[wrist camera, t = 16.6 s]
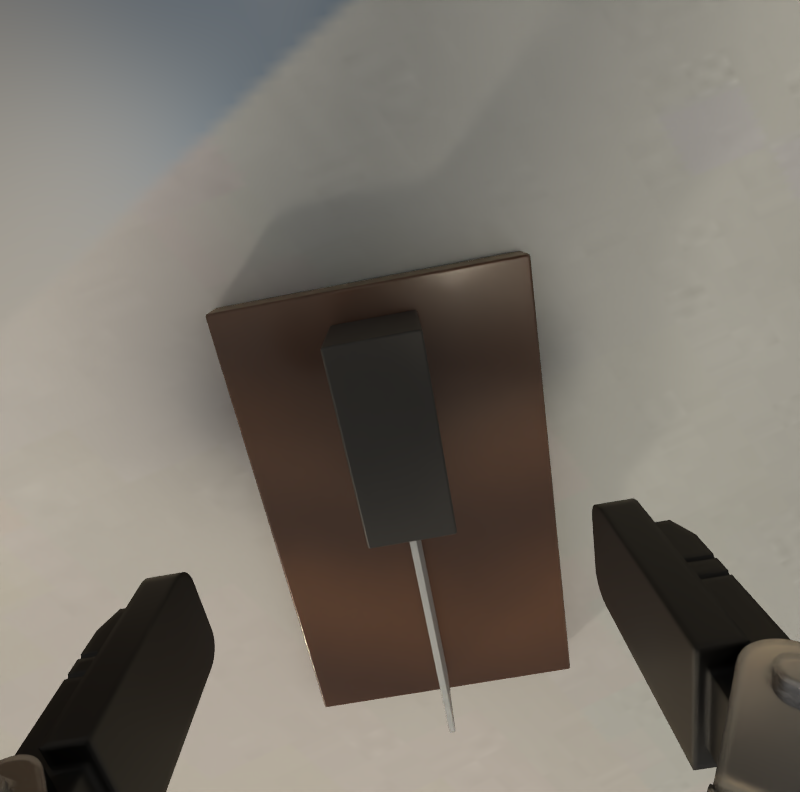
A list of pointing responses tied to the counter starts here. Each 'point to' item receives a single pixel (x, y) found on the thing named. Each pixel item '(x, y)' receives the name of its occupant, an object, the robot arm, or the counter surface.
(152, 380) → the counter surface
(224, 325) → the board
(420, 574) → the knife
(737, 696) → the robot arm
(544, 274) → the counter surface
